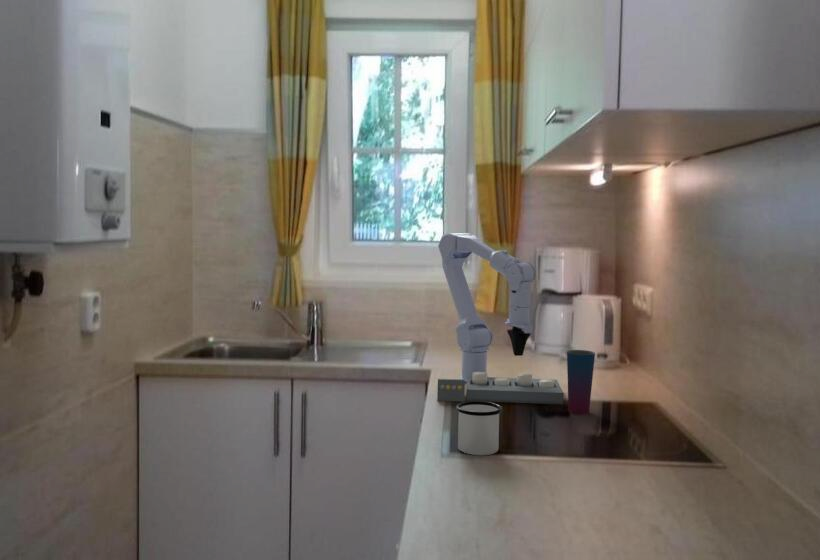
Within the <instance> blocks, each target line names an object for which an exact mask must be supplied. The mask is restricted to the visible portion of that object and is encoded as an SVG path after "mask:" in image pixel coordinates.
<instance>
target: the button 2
mask: <svg viewBox="0 0 820 560" xmlns="http://www.w3.org/2000/svg"><path fill="white" fill-rule="evenodd" d="M507 378H508V377H496V379H495V384H494V385H500V386H509V379H507Z"/></svg>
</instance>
